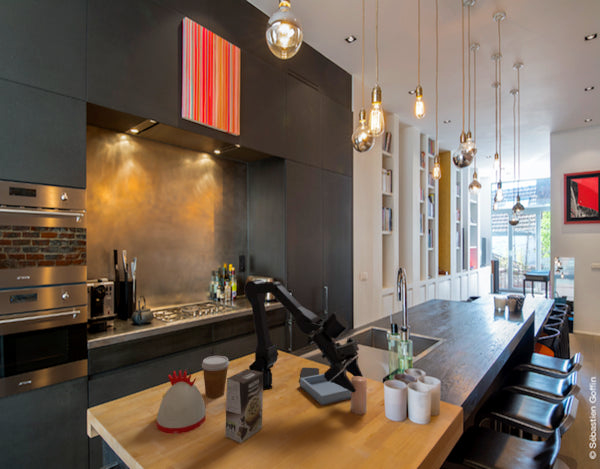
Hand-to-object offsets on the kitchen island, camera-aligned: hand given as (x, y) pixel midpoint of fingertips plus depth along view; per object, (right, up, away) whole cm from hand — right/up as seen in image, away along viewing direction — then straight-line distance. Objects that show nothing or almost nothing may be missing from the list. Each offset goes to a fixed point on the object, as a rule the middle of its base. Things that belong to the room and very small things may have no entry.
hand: (359, 386), depth 109 cm
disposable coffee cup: (-49, -7, +10) cm, 51 cm away
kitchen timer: (-55, -7, -8) cm, 56 cm away
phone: (-15, -9, +27) cm, 32 cm away
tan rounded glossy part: (0, -8, 0) cm, 8 cm away
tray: (-8, -8, +14) cm, 18 cm away
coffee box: (-35, -7, -13) cm, 38 cm away
